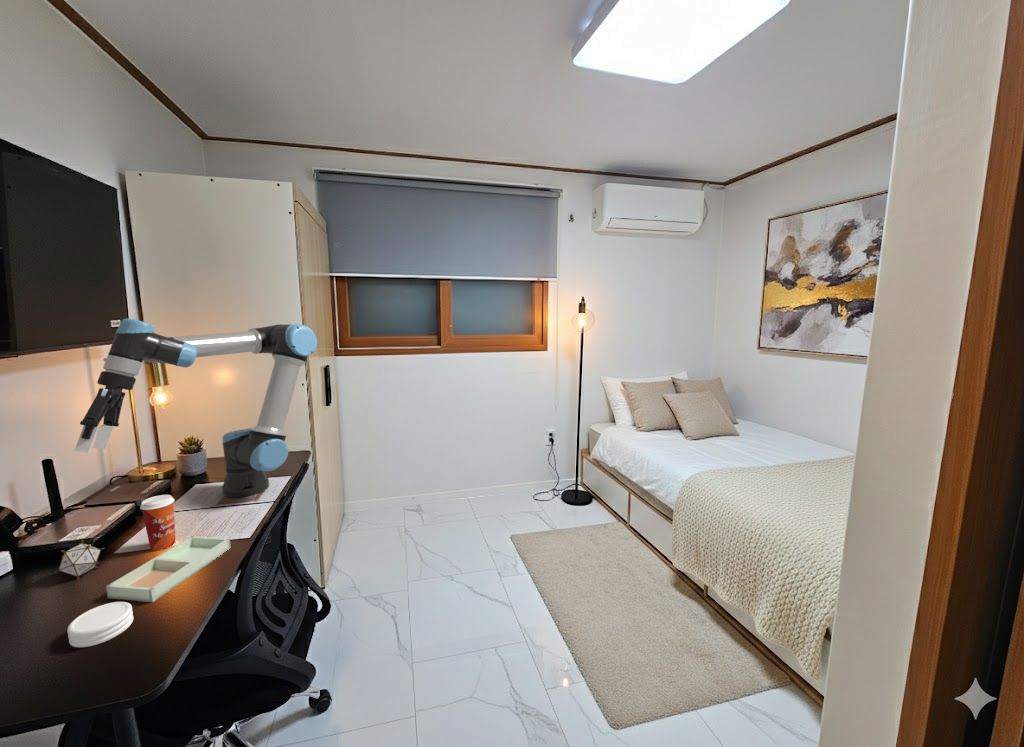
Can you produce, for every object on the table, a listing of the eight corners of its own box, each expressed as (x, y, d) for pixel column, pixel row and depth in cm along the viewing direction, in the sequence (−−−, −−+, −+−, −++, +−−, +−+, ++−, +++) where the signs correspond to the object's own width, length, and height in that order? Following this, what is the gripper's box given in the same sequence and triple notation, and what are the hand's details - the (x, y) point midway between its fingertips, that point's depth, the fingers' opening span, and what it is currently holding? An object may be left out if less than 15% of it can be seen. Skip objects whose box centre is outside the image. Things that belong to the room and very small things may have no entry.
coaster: (83, 622, 95) (81, 607, 95) (141, 610, 99) (139, 595, 98) (58, 655, 86) (55, 639, 86) (123, 639, 90) (120, 624, 89)
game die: (75, 592, 112) (36, 575, 105) (86, 565, 118) (49, 548, 112) (110, 571, 113) (73, 553, 107) (118, 545, 120) (84, 527, 113)
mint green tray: (193, 546, 126) (191, 536, 126) (230, 548, 124) (229, 538, 124) (107, 598, 103) (106, 586, 103) (152, 602, 101) (151, 590, 101)
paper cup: (161, 554, 122) (154, 506, 120) (138, 551, 124) (132, 504, 122) (187, 539, 130) (181, 494, 128) (165, 537, 131) (159, 492, 129)
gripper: (115, 374, 131) (89, 444, 127) (86, 365, 109) (52, 450, 105) (146, 380, 134) (121, 449, 130) (124, 373, 113) (93, 455, 109)
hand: (90, 450), depth 118 cm, fingers open, 13 cm apart
